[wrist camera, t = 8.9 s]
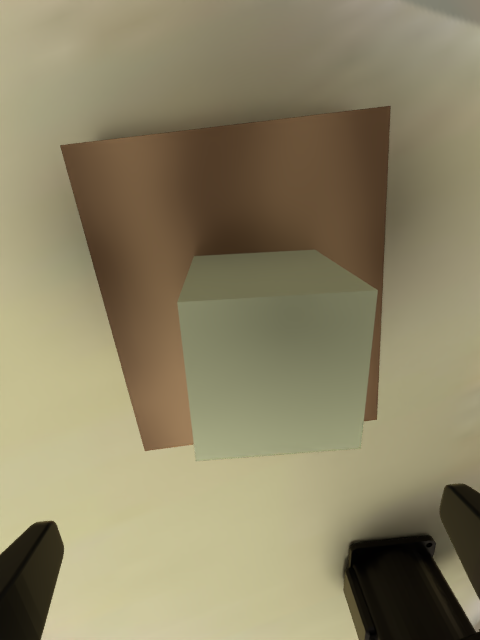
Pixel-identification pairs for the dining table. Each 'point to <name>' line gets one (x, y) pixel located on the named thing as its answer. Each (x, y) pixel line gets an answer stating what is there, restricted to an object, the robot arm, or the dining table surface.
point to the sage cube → (275, 353)
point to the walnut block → (222, 229)
